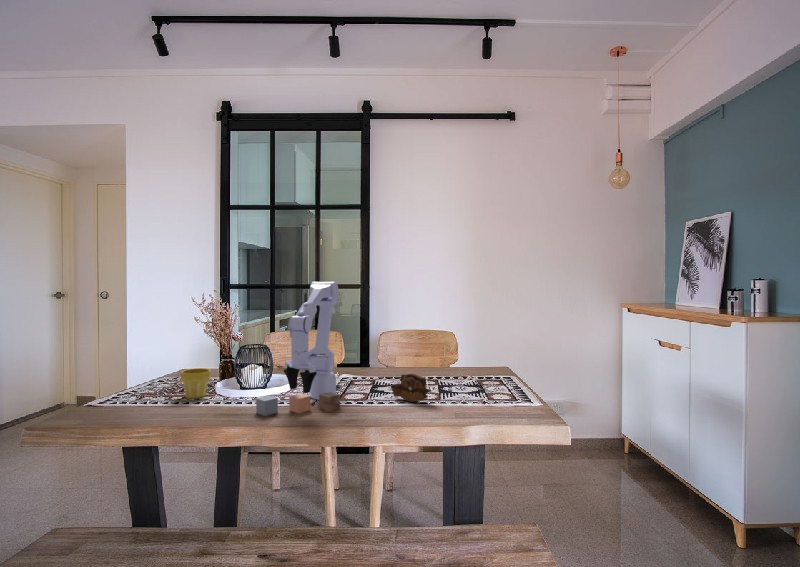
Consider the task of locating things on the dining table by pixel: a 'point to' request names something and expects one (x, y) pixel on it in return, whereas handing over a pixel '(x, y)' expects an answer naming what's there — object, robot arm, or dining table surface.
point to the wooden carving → (411, 388)
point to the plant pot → (195, 382)
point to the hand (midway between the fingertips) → (299, 390)
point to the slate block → (266, 405)
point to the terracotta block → (299, 403)
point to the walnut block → (329, 401)
